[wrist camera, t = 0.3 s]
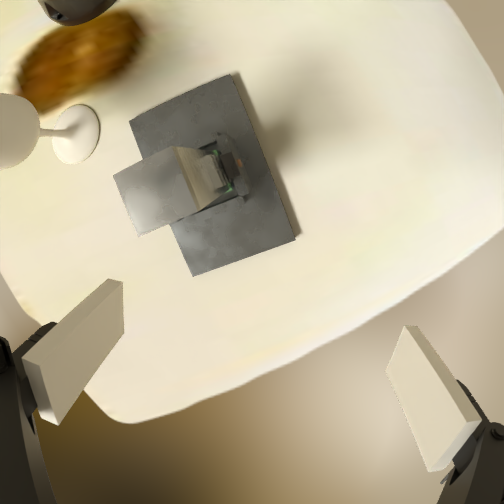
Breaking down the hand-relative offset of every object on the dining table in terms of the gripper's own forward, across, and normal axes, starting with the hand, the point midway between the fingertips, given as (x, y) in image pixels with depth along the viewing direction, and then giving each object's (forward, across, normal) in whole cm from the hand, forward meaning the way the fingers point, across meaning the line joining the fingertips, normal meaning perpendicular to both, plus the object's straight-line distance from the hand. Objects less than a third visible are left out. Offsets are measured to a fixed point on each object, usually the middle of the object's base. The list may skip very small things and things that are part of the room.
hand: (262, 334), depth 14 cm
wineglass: (+28, -28, +8) cm, 41 cm away
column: (+26, -8, +4) cm, 28 cm away
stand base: (+28, -8, +4) cm, 29 cm away
